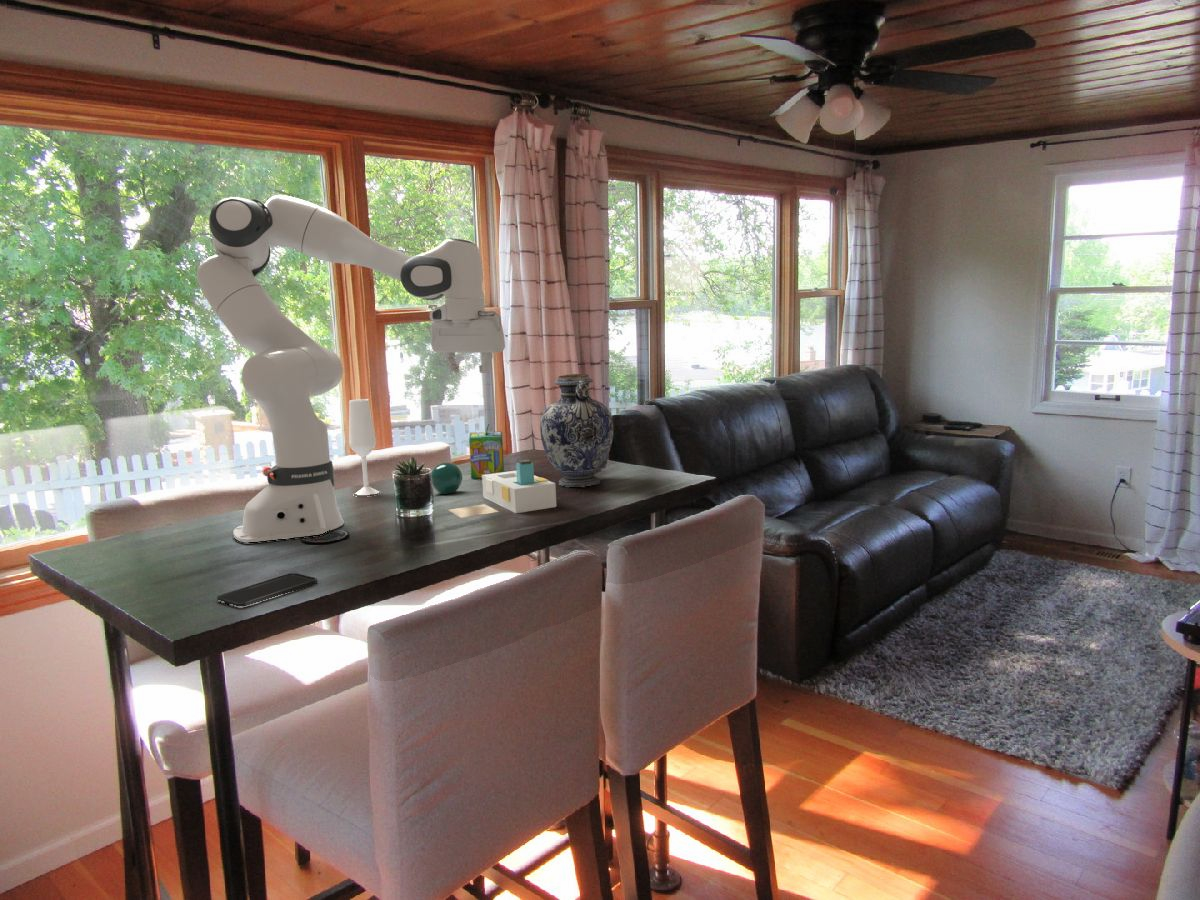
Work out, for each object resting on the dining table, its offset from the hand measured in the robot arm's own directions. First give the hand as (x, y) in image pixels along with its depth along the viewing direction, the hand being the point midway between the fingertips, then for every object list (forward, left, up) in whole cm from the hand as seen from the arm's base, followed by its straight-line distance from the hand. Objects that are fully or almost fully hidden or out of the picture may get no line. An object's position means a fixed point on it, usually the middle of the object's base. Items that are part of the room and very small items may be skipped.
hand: (469, 372), depth 200 cm
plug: (+8, -11, -29) cm, 32 cm away
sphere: (-2, +16, -31) cm, 35 cm away
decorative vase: (+30, +6, -31) cm, 44 cm away
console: (+8, -6, -31) cm, 33 cm away
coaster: (-4, -8, -31) cm, 32 cm away
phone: (-52, -39, -32) cm, 73 cm away
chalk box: (+15, +32, -31) cm, 47 cm away
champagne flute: (-19, +29, -31) cm, 47 cm away
